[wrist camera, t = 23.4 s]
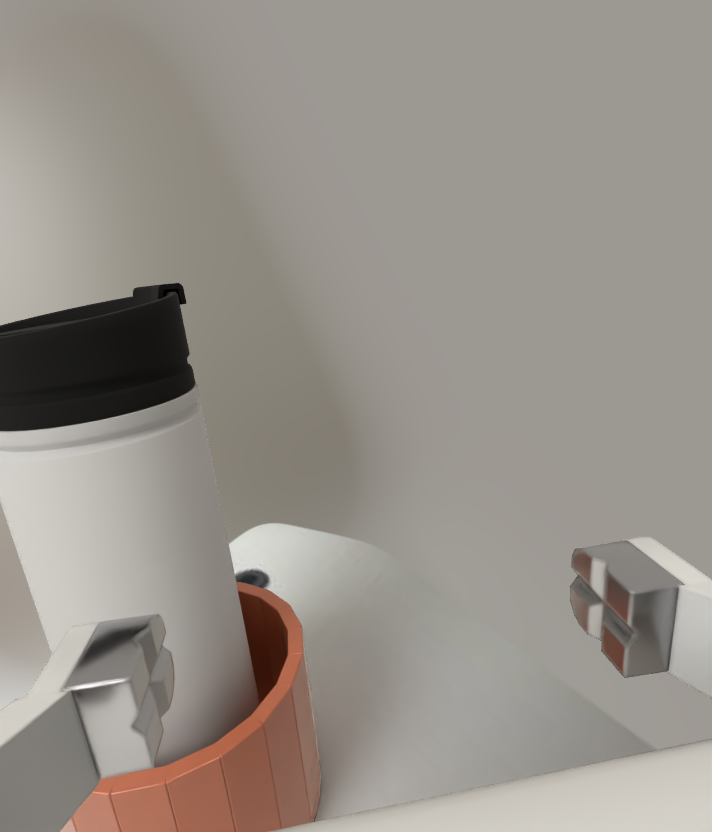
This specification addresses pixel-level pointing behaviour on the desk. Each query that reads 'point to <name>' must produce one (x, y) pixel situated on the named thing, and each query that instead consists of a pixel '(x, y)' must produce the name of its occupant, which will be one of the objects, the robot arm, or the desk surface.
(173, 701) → the travel mug
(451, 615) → the desk surface
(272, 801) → the holder
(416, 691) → the desk surface
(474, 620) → the desk surface
